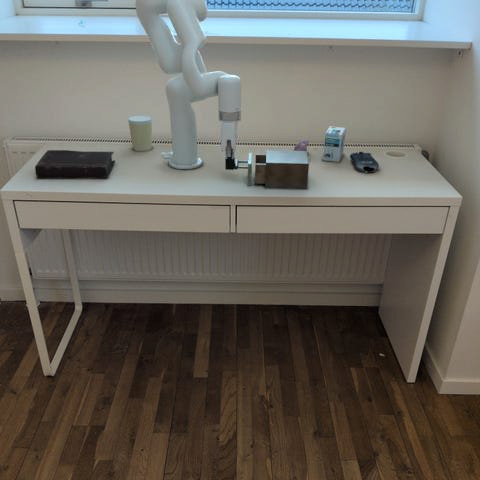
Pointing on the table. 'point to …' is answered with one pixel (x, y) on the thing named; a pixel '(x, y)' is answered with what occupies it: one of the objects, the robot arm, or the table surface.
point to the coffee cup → (141, 132)
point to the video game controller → (301, 145)
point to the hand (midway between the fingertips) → (229, 168)
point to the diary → (74, 164)
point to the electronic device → (364, 162)
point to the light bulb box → (334, 144)
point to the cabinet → (286, 169)
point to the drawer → (259, 168)
